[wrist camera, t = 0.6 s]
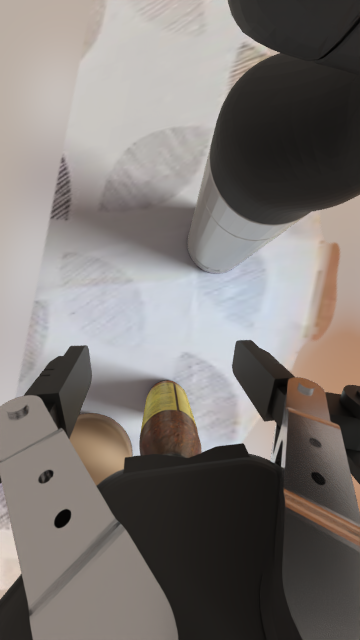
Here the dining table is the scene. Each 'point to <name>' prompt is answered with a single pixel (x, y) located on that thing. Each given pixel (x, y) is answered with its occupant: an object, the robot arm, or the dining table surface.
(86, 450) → the tan flat disc
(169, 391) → the sauce bottle
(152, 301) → the dining table surface
